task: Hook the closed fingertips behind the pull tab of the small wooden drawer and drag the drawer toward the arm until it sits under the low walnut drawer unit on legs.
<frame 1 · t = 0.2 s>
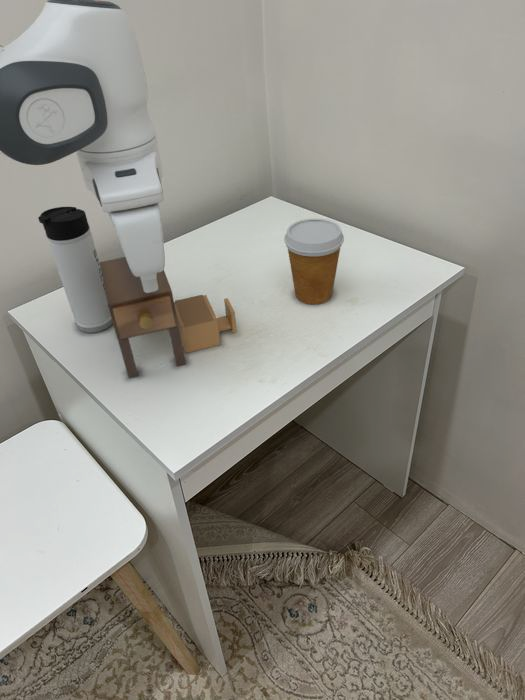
hand: (144, 270, 70), 16 cm above the table, tool pointing down, fingers open, 8 cm apart
travel mug: (95, 323, 91), on the table
wooden drawer: (198, 336, 86), on the table
drawer unit: (151, 347, 85), on the table
disposable coffee cup: (313, 295, 93), on the table
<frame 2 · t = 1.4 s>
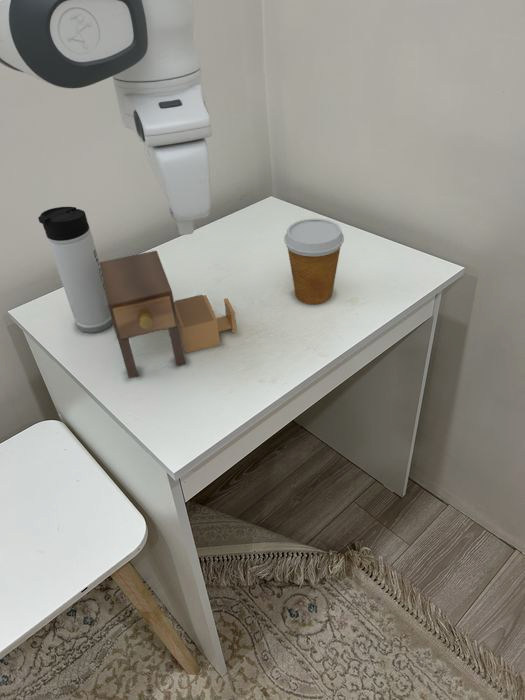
hand: (182, 224, 65), 23 cm above the table, tool pointing down, fingers open, 3 cm apart
nothing on the table moved.
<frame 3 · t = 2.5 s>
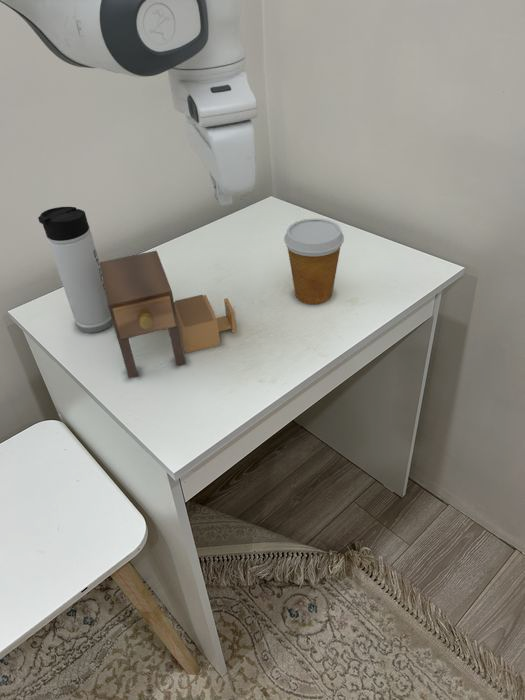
hand: (223, 201, 71), 22 cm above the table, tool pointing down, fingers closed
nothing on the table moved.
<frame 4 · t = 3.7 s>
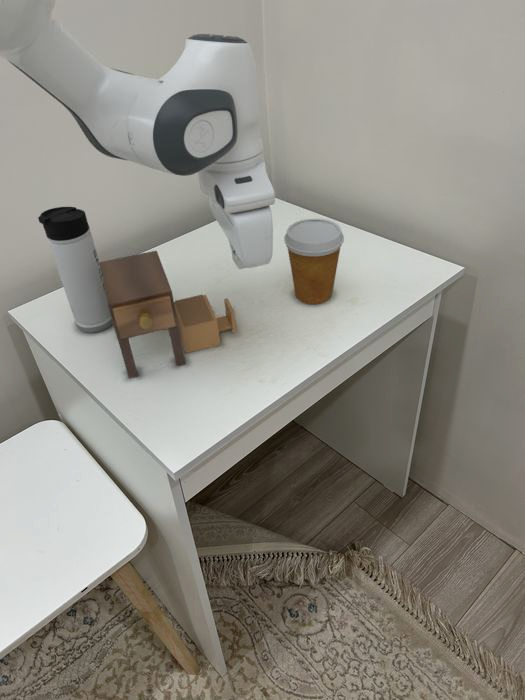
hand: (241, 263, 81), 11 cm above the table, tool pointing down, fingers closed
nothing on the table moved.
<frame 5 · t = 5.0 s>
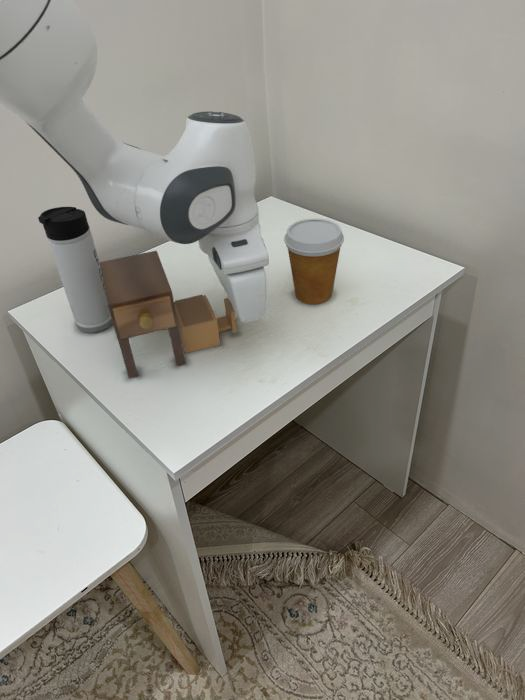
hand: (237, 312, 86), 3 cm above the table, tool pointing down, fingers closed, pressing on wooden drawer
wooden drawer: (198, 336, 86), on the table, touching gripper
everything else where it was.
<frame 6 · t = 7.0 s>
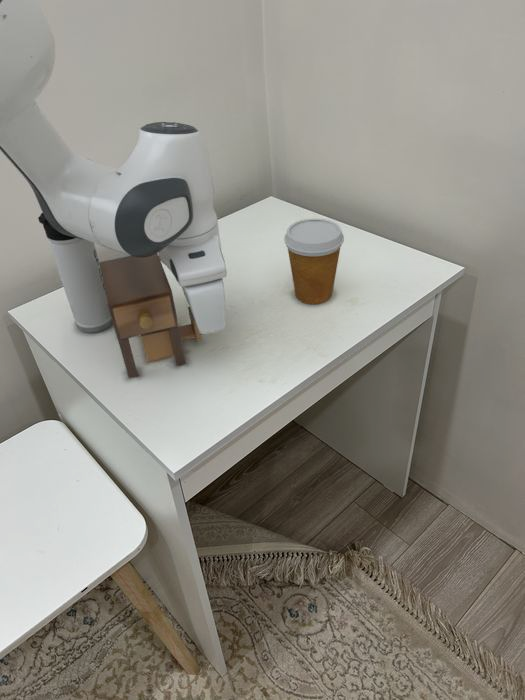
hand: (201, 322, 85), 2 cm above the table, tool pointing down, fingers closed
wooden drawer: (161, 344, 85), on the table
everything else where it was.
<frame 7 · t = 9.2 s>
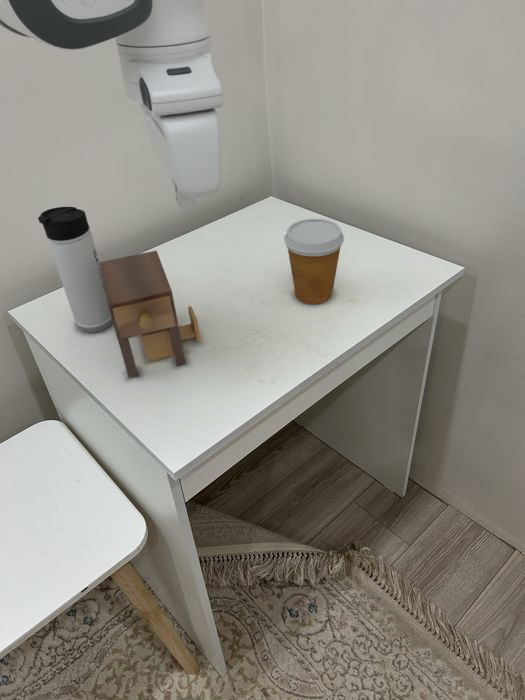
hand: (186, 205, 62), 26 cm above the table, tool pointing down, fingers closed
nothing on the table moved.
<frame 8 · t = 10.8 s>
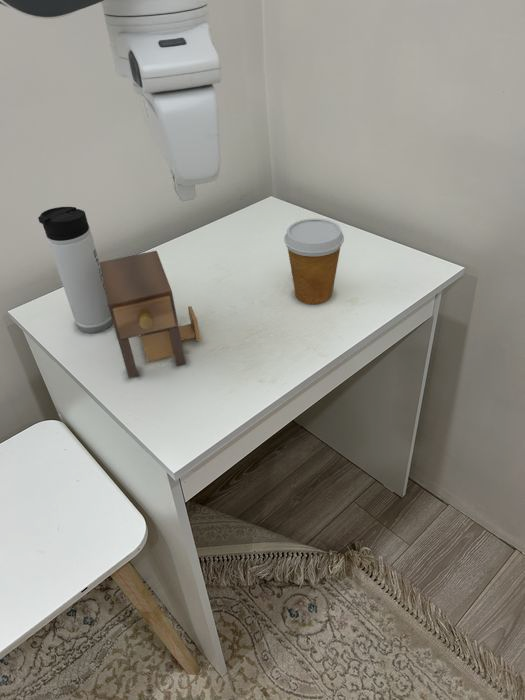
hand: (185, 195, 57), 29 cm above the table, tool pointing down, fingers closed
nothing on the table moved.
at the end: wooden drawer 1.5 cm off-centre on the drawer unit, point 0.0 cm above the drawer unit's base; wooden drawer moved 5.8 cm from its start; wooden drawer tilted 0° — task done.
